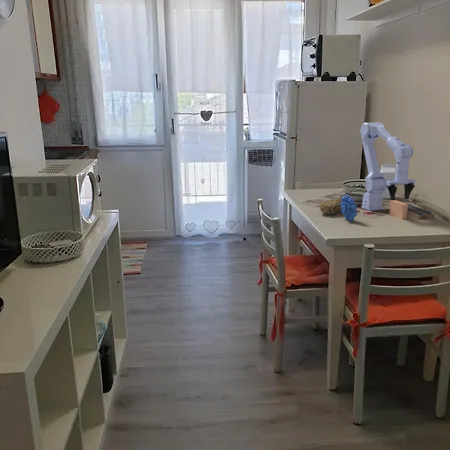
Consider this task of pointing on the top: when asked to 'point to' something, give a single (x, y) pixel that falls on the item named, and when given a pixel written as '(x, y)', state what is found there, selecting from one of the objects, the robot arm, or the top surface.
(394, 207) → the peach block
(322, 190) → the top surface
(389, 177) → the milk carton
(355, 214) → the grapes
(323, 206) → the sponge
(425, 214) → the track base
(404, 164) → the robot arm
